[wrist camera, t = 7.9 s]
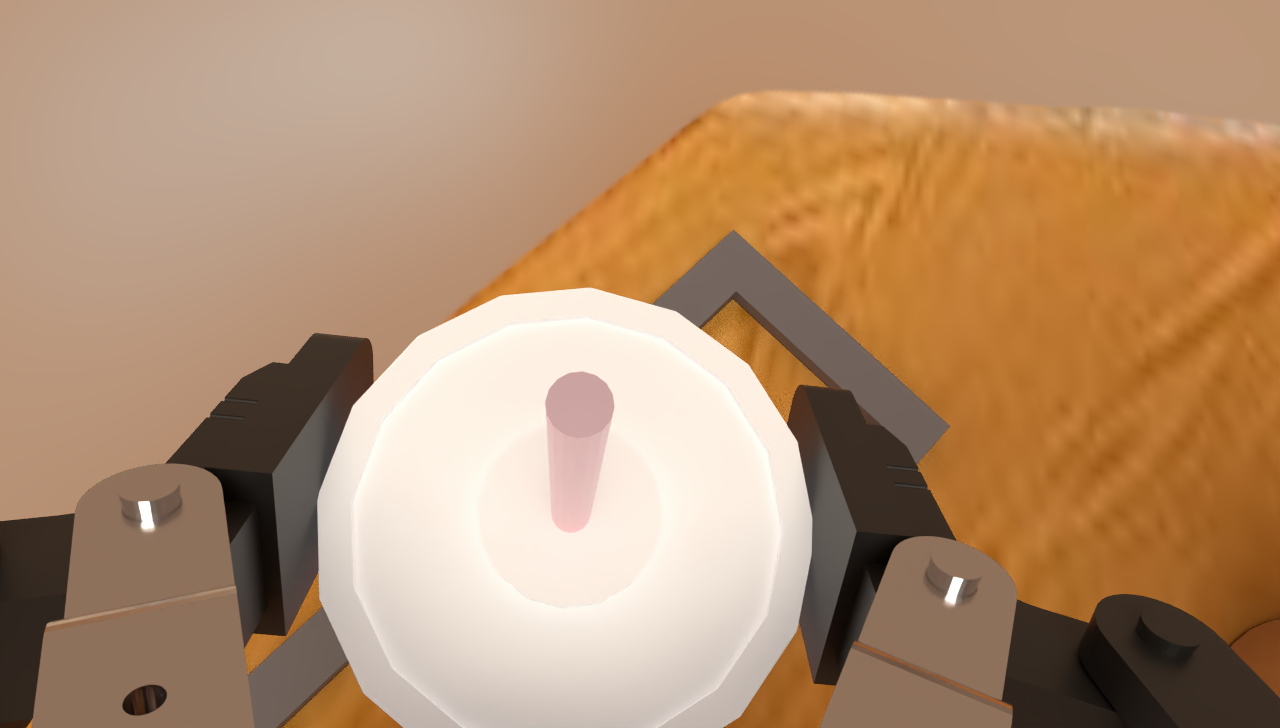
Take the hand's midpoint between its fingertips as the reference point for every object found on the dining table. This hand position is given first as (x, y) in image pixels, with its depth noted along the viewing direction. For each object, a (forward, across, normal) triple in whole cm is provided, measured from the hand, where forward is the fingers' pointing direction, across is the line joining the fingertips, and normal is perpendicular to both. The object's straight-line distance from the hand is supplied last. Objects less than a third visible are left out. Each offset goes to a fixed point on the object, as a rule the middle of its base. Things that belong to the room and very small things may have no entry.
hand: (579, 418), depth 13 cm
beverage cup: (+4, 0, +6) cm, 8 cm away
